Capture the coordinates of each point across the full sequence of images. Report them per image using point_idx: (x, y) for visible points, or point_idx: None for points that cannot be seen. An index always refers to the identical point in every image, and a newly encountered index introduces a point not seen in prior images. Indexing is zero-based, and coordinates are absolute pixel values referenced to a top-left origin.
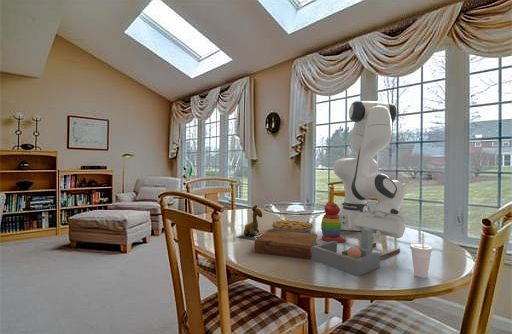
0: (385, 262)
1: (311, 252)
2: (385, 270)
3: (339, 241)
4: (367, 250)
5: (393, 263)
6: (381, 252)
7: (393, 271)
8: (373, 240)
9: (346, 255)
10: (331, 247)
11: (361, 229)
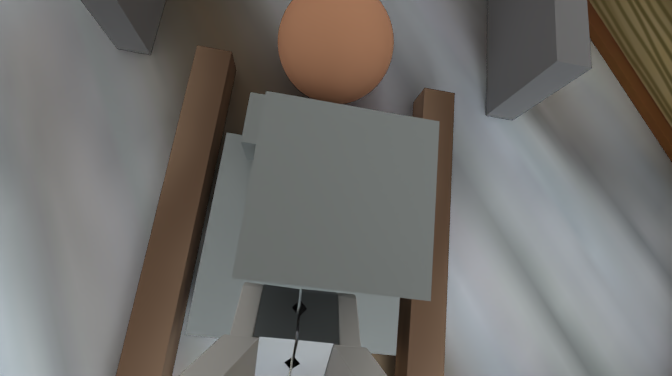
0: (112, 182)
1: (591, 6)
2: (62, 19)
3: None
4: (249, 113)
5: (45, 205)
6: (186, 328)
7: (4, 35)
8: (244, 284)
9: (413, 116)
10: (524, 22)
11: (431, 124)
